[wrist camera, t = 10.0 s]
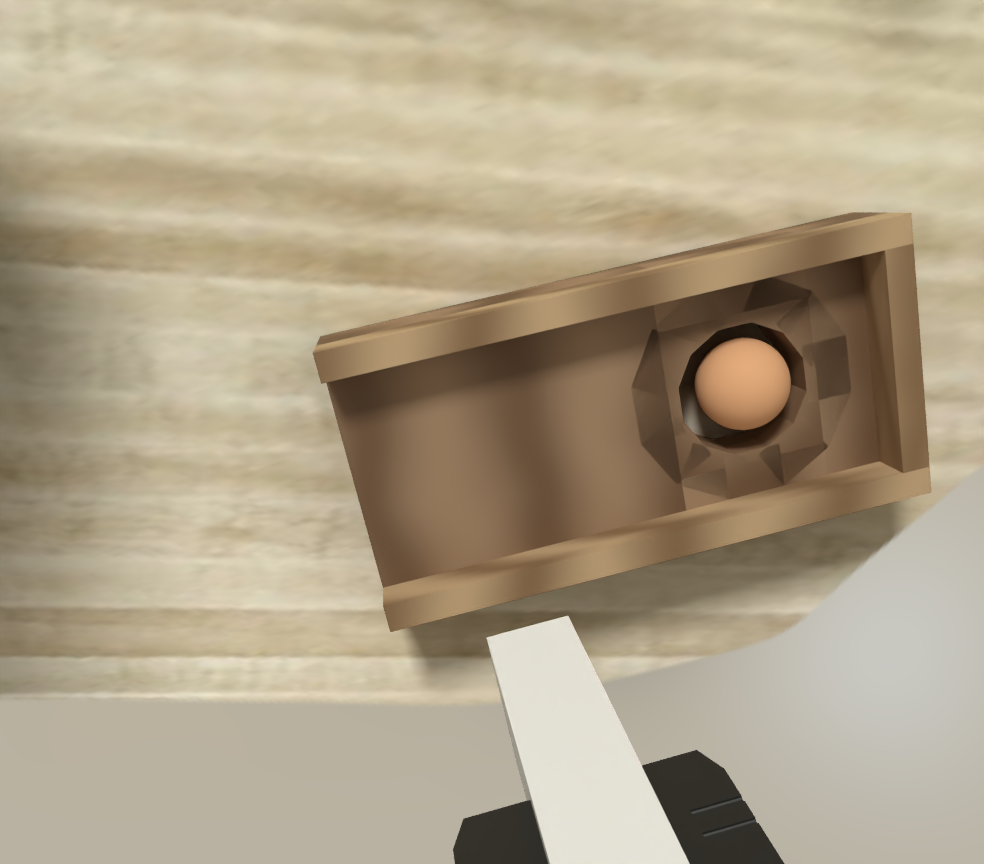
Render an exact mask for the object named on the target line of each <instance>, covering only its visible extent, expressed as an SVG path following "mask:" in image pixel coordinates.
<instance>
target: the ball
mask: <svg viewBox="0 0 984 864" xmlns="http://www.w3.org/2000/svg"><path fill="white" fill-rule="evenodd" d="M790 387H791V378H790V372H789V369H788V366H787V364H786V362H785V360H784V359H783V357H782V356H781V355H780V354H779V352H778V351H777V350H775V349H774V348H773V347H772V346H770V345H768V344H767V343H765V342H763V341H760V340H757V339H752V338H735V339H730V340H727V341H724V342H722V343H720V344H718V345H717V346H715V347H714V348H712V349H711V350H710V351H709V352H708V353H707V354H706V355H705V357H704V358H703V359H702V361H701V363H700V365H699V367H698V369H697V372H696V377H695V393H696V396H697V400H698V402H699V405H700V406H701V408H702V410H703V411H704V412H705V414H706V415H707V416H708V417H709V418H711V419H712V420H713V421H714V422H716V423H718V424H719V425H722V426H724V427H727V428H730V429H736V430H749V429H754V428H757V427H760V426H763V425H765V424H767V423H768V422H770V421H771V420H773V419H774V418H775V417H776V416H777V415H778V414H779V413H780V412H781V410H782V409H783V408H784V406H785V404H786V402H787V400H788V397H789V394H790Z"/></svg>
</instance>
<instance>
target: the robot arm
mask: <svg viewBox="0 0 984 864" xmlns="http://www.w3.org/2000/svg"><path fill="white" fill-rule="evenodd" d="M486 638H487V642H488V646H489V650H490V654H491V658H492V662H493V667H494V671H495V675H496V679H497V683H498V687H499V691H500V696H501V700H502V704H503V708H504V712H505V716H506V720H507V725H508V728H509V733H510V737H511V741H512V745H513V749H514V753H515V758H516V762H517V766H518V769H519V773H520V776H521V780H522V784H523V788H524V791H525V795H526V798H527V801H525V802H521V803H518V804H514V805H511V806H507V807H503V808H500V809H497V810H493V811H489V812H486V813H482V814H479V815H475V816H472V817H468V818H465V819H463V822H462V825H461V828H460V831H459V834H458V837H457V840H456V842H455V845H454V848H453V852H454V860H455V864H784V862H783V861H782V859H781V858H780V856H779V855H778V853H777V851H776V850H775V848H774V847H773V845H772V843H771V842H770V841H769V839H768V837H767V836H766V834H765V833H764V831H763V829H762V828H761V826H760V825H759V823H757V822H756V819H755V817H754V815H753V813H752V812H751V810H750V809H749V807H748V806H747V804H746V802H745V801H743V800H742V797H741V794H740V793H739V791H738V790H737V788H736V786H735V785H734V783H733V782H732V780H731V779H730V777H729V775H728V774H727V772H726V771H725V769H724V768H722V767H721V766H719V765H718V764H716V763H715V762H713V761H712V760H711V759H709V758H707V757H706V756H704V755H703V754H702V753H700V752H699V751H697V750H695V751H692V752H688V753H684V754H681V755H678V756H674V757H671V758H667V759H663V760H660V761H656V762H653V763H649V764H646V765H643V766H641V763H640V761H639V759H638V758H637V755H636V753H635V751H634V749H633V747H632V745H631V743H630V741H629V739H628V737H627V735H626V733H625V731H624V729H623V727H622V725H621V723H620V721H619V719H618V717H617V715H616V713H615V710H614V708H613V706H612V705H611V702H610V700H609V698H608V696H607V694H606V692H605V690H604V688H603V686H602V684H601V682H600V680H599V678H598V676H597V674H596V672H595V670H594V668H593V665H592V663H591V661H590V659H589V657H588V655H587V653H586V651H585V649H584V647H583V645H582V643H581V641H580V639H579V637H578V635H577V633H576V631H575V629H574V627H573V625H572V623H571V621H570V618H569V616H565V617H561V618H557V619H554V620H550V621H546V622H542V623H539V624H535V625H531V626H527V627H524V628H520V629H516V630H512V631H509V632H505V633H501V634H497V635H494V636H490V637H486Z"/></svg>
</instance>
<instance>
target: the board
mask: <svg viewBox="0 0 984 864" xmlns="http://www.w3.org/2000/svg"><path fill="white" fill-rule="evenodd" d="M746 323H754V324H757V325H758V326H759V327H760V328H761V329H762V331H763V332H764V333H765V334H766V336H767V337H768V338H769V339H770V341H771V342H772V343H773V344H774V346H775V347H776V348H777V351H778V352H779V354H780V355H781V356H782V357H783V359H784V360H785V362H786V364H787V366H788V369H789V372H790V378H791V387H790V394H789V397H788V400H787V402H786V404H785V406H784V408H783V409H782V410H781V412H780V413H779V414H778V415H777V416H776V417H775V418H774V419H773V420H771V421H770V422H768V423H767V424H765V425H763V426H760V427H757V428H754V429H749V430H746V431H745V432H742V433H738V434H734V435H730V436H726V437H722V438H718V439H714V440H713V439H710V438H706V437H703V436H699V435H696V434H694V433H693V432H692V431H691V430H690V428H689V427H688V426H687V425H686V424H685V423H684V421H683V414H682V408H681V402H680V395H679V389H678V388H679V385H680V383H681V380H682V377H683V375H684V372H685V369H686V367H687V364H688V361H689V358H690V356H691V354H692V353H693V352H694V351H696V350H697V349H698V348H699V347H700V346H701V345H702V344H703V343H704V342H706V341H707V340H708V339H709V338H710V337H711V336H712V335H713V334H714V333H715V332H717V331H718V330H722V329H726V328H730V327H734V326H738V325H742V324H746ZM313 355H314V359H315V363H316V366H317V370H318V373H319V377H320V381H321V384H322V383H327V386H328V390H329V394H330V397H331V401H332V405H333V408H334V412H335V415H336V419H337V423H338V426H339V430H340V433H341V437H342V441H343V444H344V448H345V452H346V455H347V459H348V462H349V466H350V470H351V473H352V477H353V481H354V484H355V488H356V491H357V495H358V499H359V502H360V506H361V509H362V513H363V517H364V520H365V524H366V528H367V531H368V535H369V538H370V542H371V546H372V549H373V553H374V557H375V560H376V564H377V567H378V571H379V575H380V578H381V582H382V585H383V607H384V611H385V614H386V618H387V621H388V625H389V629H390V632H393V631H397V630H401V629H405V628H408V627H412V626H416V625H420V624H424V623H428V622H432V621H435V620H439V619H443V618H447V617H451V616H455V615H459V614H463V613H466V612H470V611H474V610H478V609H482V608H486V607H490V606H494V605H497V604H501V603H505V602H509V601H513V600H517V599H521V598H524V597H528V596H532V595H536V594H540V593H544V592H548V591H552V590H555V589H559V588H563V587H567V586H571V585H575V584H579V583H582V582H586V581H590V580H594V579H598V578H602V577H606V576H610V575H613V574H617V573H621V572H625V571H629V570H633V569H637V568H641V567H644V566H648V565H652V564H656V563H660V562H664V561H668V560H671V559H675V558H679V557H683V556H687V555H691V554H695V553H699V552H702V551H706V550H710V549H714V548H718V547H722V546H726V545H729V544H733V543H737V542H741V541H745V540H749V539H753V538H757V537H760V536H764V535H768V534H772V533H776V532H780V531H784V530H788V529H791V528H795V527H799V526H803V525H807V524H811V523H815V522H818V521H822V520H826V519H830V518H834V517H838V516H842V515H846V514H849V513H853V512H857V511H861V510H865V509H869V508H873V507H876V506H880V505H884V504H888V503H892V502H896V501H900V500H904V499H907V498H911V497H915V496H919V495H923V494H927V493H931V481H930V467H929V453H928V439H927V426H926V412H925V398H924V384H923V370H922V356H921V343H920V329H919V315H918V301H917V287H916V273H915V259H914V246H913V232H912V218H911V213H856V212H853V213H848V214H844V215H840V216H835V217H831V218H827V219H822V220H818V221H814V222H810V223H805V224H801V225H797V226H792V227H788V228H784V229H780V230H775V231H771V232H767V233H762V234H758V235H754V236H749V237H745V238H741V239H737V240H732V241H728V242H724V243H719V244H715V245H711V246H707V247H702V248H698V249H694V250H689V251H685V252H681V253H677V254H672V255H668V256H664V257H659V258H655V259H651V260H646V261H642V262H638V263H634V264H629V265H625V266H621V267H616V268H612V269H608V270H604V271H599V272H595V273H591V274H586V275H582V276H578V277H574V278H569V279H565V280H561V281H556V282H552V283H548V284H543V285H539V286H535V287H531V288H526V289H522V290H518V291H513V292H509V293H505V294H501V295H496V296H492V297H488V298H483V299H479V300H475V301H471V302H466V303H462V304H458V305H453V306H449V307H445V308H440V309H436V310H432V311H428V312H423V313H419V314H415V315H410V316H406V317H402V318H398V319H393V320H389V321H385V322H380V323H376V324H372V325H368V326H363V327H359V328H355V329H350V330H346V331H342V332H337V333H333V334H329V335H325V336H320V338H319V341H318V343H317V345H316V347H315V350H314V352H313Z"/></svg>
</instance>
